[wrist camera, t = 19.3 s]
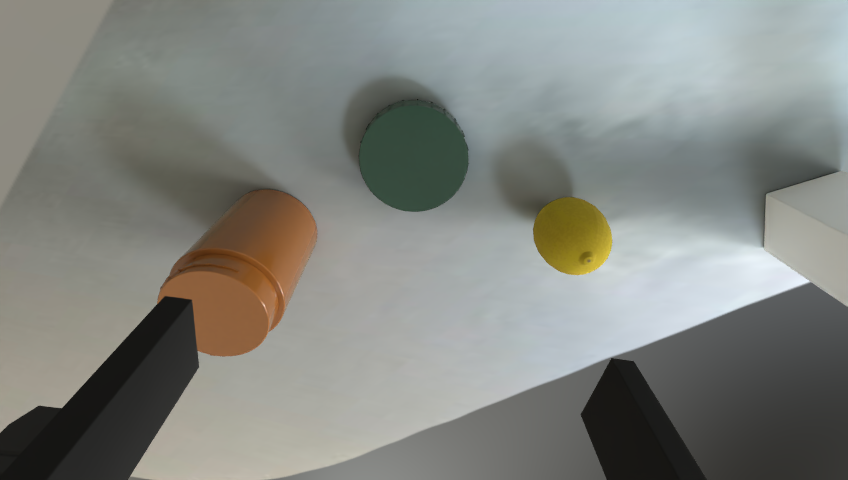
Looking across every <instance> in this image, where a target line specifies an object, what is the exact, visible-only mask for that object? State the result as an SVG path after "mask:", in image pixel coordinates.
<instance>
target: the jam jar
mask: <svg viewBox="0 0 848 480" xmlns="http://www.w3.org/2000/svg"><path fill="white" fill-rule="evenodd" d="M316 241H317V227H316V224H315V221H314V219H313V216H312V215H311V213H310V212H309V210H308V209H307V208H306V207H305V206H304V205H303V204H302V203H301V202H300V201H299V200H297V199H296V198H294V197H293V196H291V195H289V194H286V193H284V192H281V191H277V190H270V189H262V190H256V191H252V192H249V193H247V194H245V195H244V196H242V197H241V198H240V199H239V200H238V201H237V202H236V203H235V204H234V205H233V206H232V207H231V208H230V209H229V210H228V211H227V212H226V213H225V214H224V215H223V216H222V217H221V218H220V219H219V220H218V221H217V222H216V223H215V224H214V225H213V226H212V227H211V228H210V229H209V230H208V231H207V232H206V233H205V234H204V235H203V236H202V237H201V238H200V239H199V240H198V241H197V242H196V243H195V244H194V245H193V246H192V247H191V248H190V249H189V250H188V251H187V252H186V253H185V254H184V255H183V256H182V257H181V258H180V259H179V260H178V261H177V262H176V263H175V264H174V266H173V268H172V269H171V272H170V275H169V276H168V278H167V279H166V280H165V282H164V284H163V285H162V287H161V288H160V292H159V296H158V302H157V304H158V303H159V302H160V301H161V300H162V299H163V297H164V296H170V297H177V298H184V299H191V300H192V303H193V313H194V323H195V333H196V343H197V351H200V352H203V353H206V354H210V355H213V356H223V357H225V356H236V355H241V354H244V353H247V352H250V351H251V350H253V349H255V348H256V347H258V346H259V345H260V344H261V343H262V342H263V341H264V339H265V338H266V336H267V334H268V332H270V331H271V330H272V329H274V328H275V327H276V326H277V325H278V323H279V322H280V320H281V318H282V316H283V314H284V312H285V310H286V308H287V306H288V303H289V301H290V299H291V297H292V295H293V293H294V290H295V288H296V286H297V284H298V282H299V280H300V277H301V275H302V273H303V271H304V269H305V267H306V264H307V262H308V260H309V258H310V256H311V254H312V251H313V249H314V247H315V244H316Z"/></svg>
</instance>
